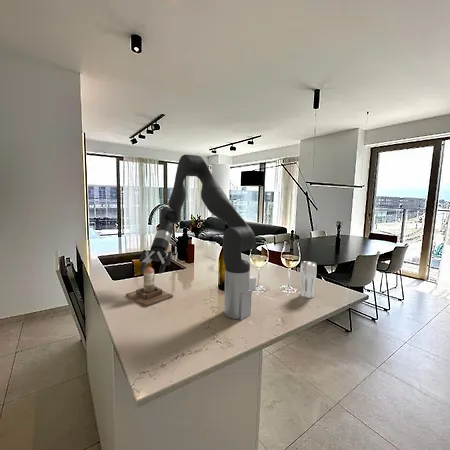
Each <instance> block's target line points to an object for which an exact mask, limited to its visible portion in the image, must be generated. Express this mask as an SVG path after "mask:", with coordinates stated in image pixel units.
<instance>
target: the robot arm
mask: <svg viewBox="0 0 450 450" xmlns="http://www.w3.org/2000/svg"><path fill="white" fill-rule="evenodd" d="M177 163H178V164H177V167H176V172H175V178H174V183H173V188H172V191H171V194H170V197H169V200H168V203H167V205H168V206H164V207H162V208H161V210H160V213H159V225H158V228H157V231H156V233H155V235H154V238H153V241H152V244H151V245H150V250H149V251H147V249H143V250H142V252H141V255H140V256H139V258H138V261H139V263H140V264H141V266H140V271H141V273H143V272H144V269H145V268H147V264H150V263H152V261H153V262H160V261H161V263H160V266H159V270H158V272H159V274H161V275H162V274H163V273H164V272H165V269H166V266H171V262H172V258H173V254H172V253H173V252H171V251H168V249H169V246H170V243H171V239H172V238H171V237H172V235H173V233H174V232H173V231H174V225H175V224H179V222H180V221H181V219H182V218H181V217H182V207H183V206H184V202H185V200H186V197H187V192H186V191H187V190H186V188H185V180H186V178H187V177H196V178H198V179H199V181H200V182H201V192H200V198H201V200H202V202H203V204H204V205H205V207H206V208H207V210H208V211H209V213H210V214H212V215H213V216H215V217H216V218H218V219H219V220H220V221H222V222H223V223H225V224H226V225H227V226H228V227H227V228H226V229H225V230H224V232H223V235H222V257H223V265H224V309H223V312H224V315H225V316H226V317H227V318H229V319H235V320H240V321H243V320H244V319H246V318H248V317H249V316H250V315H251V314H252V291H253V290H252V291H251V290H249V281H250V274H251V272H250V271H251V264H250V261H248V260H246V259H242V252H246V251H250V250H252V249H253V248H254V247H255V246H256V244H257V243H256V241H257V240H256V235H255V232H254V230H253V229H252V228H251V226H250V224H249V225H248V223H247V222H246V220H245V219H244V218H243V217H242V216H241V214H240V213H239V212H238V211H237V209H236V208H235V206H234V205H233V204H232V202H231V200H230V199H229V198H228V197H227V194H225V192H224V190H223V189H222V187H221V186H220V185H219V183H218V182H217V180H216V179H215V177H214V175H213V173H212V172H211V170H210V168H209V165H208V163H207V161H206V160H205V159H204V157H202V156H200V155H196V154H195V155H194V154H183V155H181V156H180V158H179V160H178V162H177ZM173 224H174V225H173ZM167 251H168V252H167ZM165 257H166V261H165V260H164V258H165Z"/></svg>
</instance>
